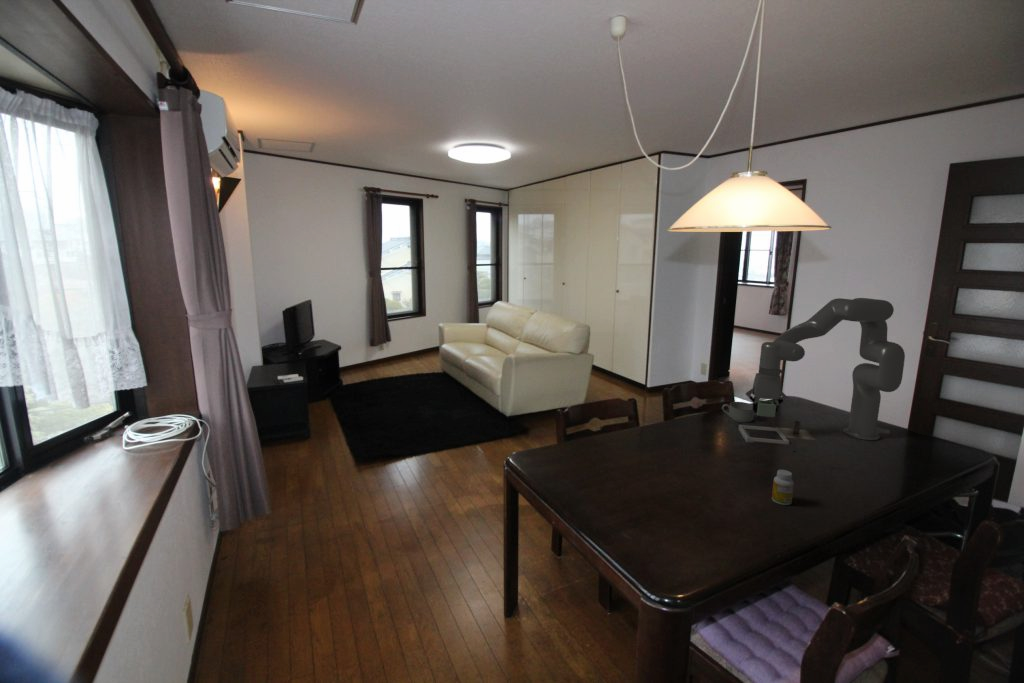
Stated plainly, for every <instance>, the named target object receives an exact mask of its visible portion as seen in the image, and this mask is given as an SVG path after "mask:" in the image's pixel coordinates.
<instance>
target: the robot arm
mask: <svg viewBox="0 0 1024 683" xmlns="http://www.w3.org/2000/svg"><path fill="white" fill-rule="evenodd" d="M894 310H895V308H894V306H893V304H892V303H891V301H888V300H886V299H885V300H884V299H876V298H867V297H855V298H853V299H851V298H850V299H849V298H840V297H839V298H833V299H831V300H829V301H828V302H827V303H826V304H825V305H824V306H823V307H821V308H820V309H819V310H818V311H817V312H816V313H814V314H813V315H812V316H811V317H810V318H809V319H807V320H806V321H804V322H801V323H799V324H797V325H795V326H791V327H790V328H789V329H787V330H785V331H784V332H782V333H781V334H779V335H778V336H777V337H776V338H775V339H774V340H773V341H765V342H762V344H761V346H760V347H761V348H760V356H759V366H758V373H755V376H754V381H753V385H752V388H751V389H750V390H748V391H746V392H745V396H746V397H748V399H749V400H750V401H751V402H752V405H753V410H754V414H756V413H757V409H758V404H757V402H758V400H761V399H768V400H773V401H772V402H773V403H774V404H775V405H776V412H775V416H776V414H777V413H778V408H779V406H780V404H782V403H783V402H785V400H787V399H788V396H787V395H786V394H785V393H784V392H783V391H782V377H781V375H780V374H783V373H784V370H783V369H781V362H782V361H786V362H798V361H800V360H802V359H803V358H804V356H805V354H806V351H805V349H804V347H803V346H802V345H800V344H798V343H800V342H802V341H805V340H808V339H815V338H819V337H824V336H826V335H827V334H828V333H829V332H830V331H831V330H832V329H834V328H835V327H836V326H837V325H838V324H839V323H840V322H842V321H848V322H859V324H860V328H861V333H860V342H859V356H860V357H861V358H862V359H864V360H865V361H868V362H867V363H866V362H863V363H860V364H857V365H856V366H854V368H853V370H852V374H851V377H852V385H853V386H852V396H851V403H850V409H849V410H850V411H849V419H848V426H847V427H845V428H843V431H842V433H844V434H845V435H847V437H851V438H854V439H859V440H864V441H877V440H880V439H881V434H884V435H889V434H890V432H891V431H890V430H889V429H886V428H885V429H884V428H883V427H878V426H877V425H878V418H879V413H880V406H881V401H882V400H881V398H882V397H881V392H885V393H892V392H895V391H896V390H898V389H899V387H900V386H901V384H902V382H903V376H904V375H903V374H904V368H905V361H906V360H905V359H906V358H905V357H906V354H905V350H904V349H903V346H901V345H900V344H899V343H896V342H892V341H889V340H888V323H887V320H888V319H890V318H891V317H892V316H893V315H894V312H895V311H894ZM869 362H872V363H869ZM873 363H875V364H873ZM877 364H878V365H877ZM880 391H881V392H880ZM752 395H753V396H752Z"/></svg>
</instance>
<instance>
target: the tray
mask: <svg viewBox="0 0 1024 683" xmlns="http://www.w3.org/2000/svg"><path fill="white" fill-rule="evenodd" d="M778 428H779V427H778ZM778 428H777V427H771V426H770V427H769V426H760V425H759V426H758V425H748V424H747V425H746V424H745V425H744V424H738V431H739V433H740V435H741V436H742V437H743V439H744V440H745V442H746V443H747V444H755V442H758V443H769V444H770V443H771V444H781V445H790V440H789V438H786V437H785V436H784V435H783V433H782V432H781V431H780V430H779V429H778ZM746 429H747V430H757V431H758V430H760V431H770V432H776V433H777V434H778V436H779V437H781V439H773V438H762V437H752V436H750V434H749V432H748V431H747V430H746Z"/></svg>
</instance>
